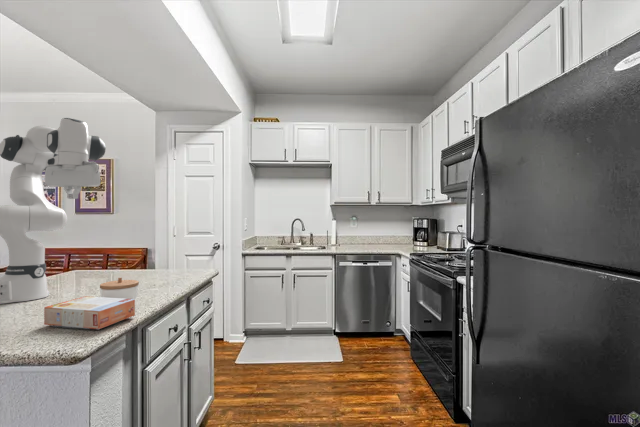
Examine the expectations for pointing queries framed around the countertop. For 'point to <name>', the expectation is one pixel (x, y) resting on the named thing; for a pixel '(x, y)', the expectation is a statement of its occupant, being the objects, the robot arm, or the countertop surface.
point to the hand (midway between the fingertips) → (72, 198)
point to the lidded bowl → (120, 289)
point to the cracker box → (89, 312)
